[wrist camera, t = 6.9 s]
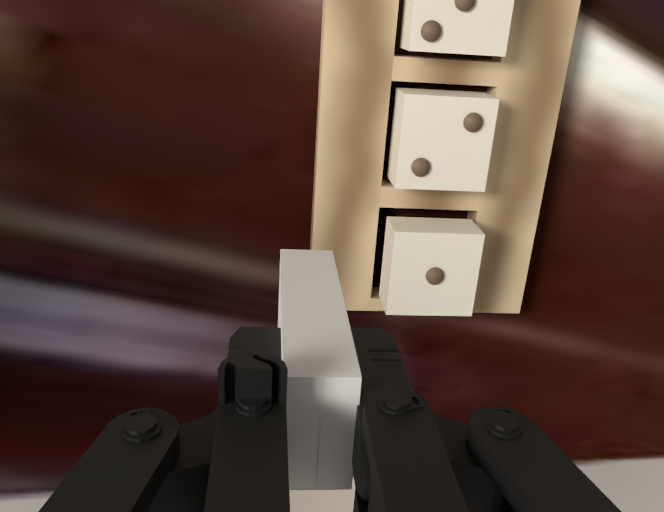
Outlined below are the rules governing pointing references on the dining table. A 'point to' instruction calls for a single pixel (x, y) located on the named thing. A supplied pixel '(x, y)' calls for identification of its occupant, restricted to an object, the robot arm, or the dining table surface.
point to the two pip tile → (441, 139)
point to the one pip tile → (430, 266)
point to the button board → (371, 127)
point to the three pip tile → (456, 26)
